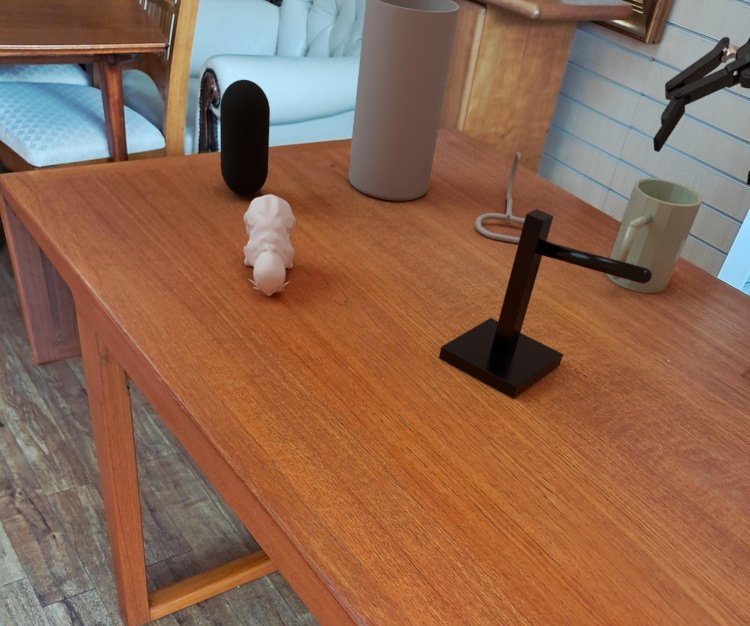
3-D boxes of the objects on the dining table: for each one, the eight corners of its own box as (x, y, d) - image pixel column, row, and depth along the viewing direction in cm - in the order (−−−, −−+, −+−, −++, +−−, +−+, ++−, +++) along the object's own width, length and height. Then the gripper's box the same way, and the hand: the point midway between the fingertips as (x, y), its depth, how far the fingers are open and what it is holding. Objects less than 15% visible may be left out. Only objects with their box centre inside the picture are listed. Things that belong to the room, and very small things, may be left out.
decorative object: (259, 183, 117) (261, 72, 107) (273, 202, 113) (277, 88, 102) (215, 185, 114) (214, 72, 104) (228, 204, 110) (228, 88, 100)
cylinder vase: (331, 177, 122) (347, -11, 105) (389, 165, 129) (413, -14, 112) (386, 208, 116) (412, 14, 99) (443, 194, 123) (478, 9, 106)
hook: (538, 192, 127) (533, 262, 114) (480, 181, 127) (469, 250, 115) (550, 147, 121) (547, 217, 109) (490, 136, 122) (480, 204, 109)
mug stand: (438, 358, 88) (469, 208, 76) (488, 328, 94) (524, 186, 82) (575, 432, 80) (632, 279, 69) (619, 395, 87) (678, 249, 75)
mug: (622, 257, 114) (652, 173, 106) (676, 281, 110) (712, 196, 102) (578, 284, 106) (606, 195, 98) (635, 310, 102) (670, 220, 94)
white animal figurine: (297, 190, 95) (300, 244, 87) (293, 253, 101) (295, 309, 93) (244, 185, 94) (241, 239, 86) (243, 250, 100) (241, 305, 92)
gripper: (880, 71, 103) (789, 210, 104) (703, 21, 113) (621, 148, 114) (894, 29, 96) (796, 178, 97) (704, -20, 107) (617, 115, 107)
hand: (701, 162), depth 106 cm, fingers open, 13 cm apart
